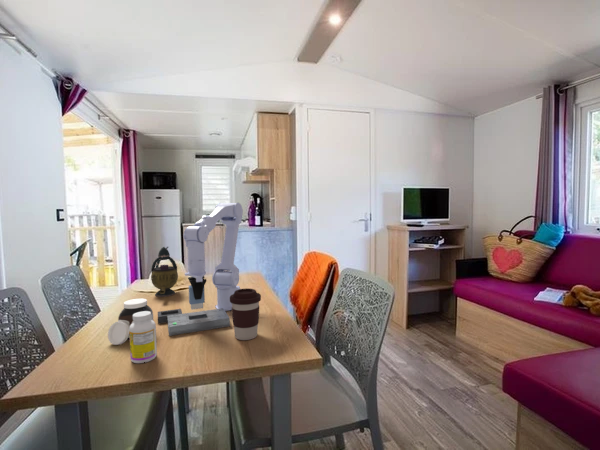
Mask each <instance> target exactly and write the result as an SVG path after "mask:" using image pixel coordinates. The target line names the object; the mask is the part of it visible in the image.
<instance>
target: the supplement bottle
mask: <svg viewBox="0 0 600 450" xmlns="http://www.w3.org/2000/svg"><path fill="white" fill-rule="evenodd" d="M153 320H154V319H153ZM153 320H151V312H150V311H142V312H137V313H135V314H133V321H134V323H132V324H131V325H130V327H129V335H130V340H129V349H130V350H129V355H130V356H129V357H130V360H131V362H132V363H134V364H145V363H148V362H151V361H153V360H154V359H156V357H157V354H158V352H157V350H158V349H157V330H156V329H157V327H156V321H153ZM144 362H145V363H144Z"/></svg>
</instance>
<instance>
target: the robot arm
mask: <svg viewBox="0 0 600 450" xmlns="http://www.w3.org/2000/svg"><path fill="white" fill-rule="evenodd" d="M243 215H244V209H243V207H242V204H241V203H240V202H218V203H217V204H216V205H215V209H214V210H213V211H212V212H211V213H210V214H209V215H202V216H201V219H199V220H198V221H196V222H195V223H194V225H189V226H187V227H186V228H185V229H184V231H183V234H182V235H183V236H182V237H183V240H184V241H185V247H186V248H187V272H184V275H185V276H186V277H187V279H188V281H189V283H190V285H192V288H193V293H194V298H195V300H197V299H201V298H202V293H203V288H204V289H205V285H206V283H207V279H206V278H205V275H207V271H206V257H205V256H206V253H205V252H206V249H205V242H207V240H208V237H209V235H210V233H211V232H212V231H213V230H214V229H215V228H216V225H217V222H218V221H221V224H224V225H225V226H226V227H225V228H226V229H225V233H224V234H225V235H224V241H223V248H222V254H221V261H220V263H219V264H217V265H216V266H215V268H214V272H213V274H212V277H211V280H212V285H214V286H215V288H216V297H217V298H216V299H217V300H216V301H217V303H216V305H215V306H214V307H215V309H221V308H223V309H224V310H225V312H227V311H232V303H231V302H230V296H231V295H233V294H234V292H235V291H236V290H239V289H241V288H240V287H241V286H240V285H239V283H240V269H239V268H238V266H236V265H235V257H236V250H237V243H238V242H237V240H238V236H239V228H240V224H242V220H243Z"/></svg>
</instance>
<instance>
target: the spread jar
mask: <svg viewBox="0 0 600 450" xmlns="http://www.w3.org/2000/svg"><path fill="white" fill-rule="evenodd" d="M142 311H150V312H151V320H153V321H154V312H153V309H152V308H151V307H150V306H149V305H148V299H146V298H142V297H141V298H133V299H128V300H126V301H123V309H122V310H121V311H120V313H119V315H118V318H117V321H115V322H113V323H112V324H111V325H110V327H109V328H108V331H107V339H108V341H109V343H110V344H112V345H114V346H117V345H118V346H119V345H122V344H124V343H126V341H130V335H129V327H130V325H131V324H132V323H134V321H133V314H135V313H137V312H142ZM154 322H155V321H154Z"/></svg>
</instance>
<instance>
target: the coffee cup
mask: <svg viewBox="0 0 600 450" xmlns="http://www.w3.org/2000/svg"><path fill="white" fill-rule="evenodd" d="M261 300H262V296H261V294H260V293H259V292H257V290H256V289H253V288H240V289H239V290H236V291H235V292H234V294H233V295H231V296H230V302H231V303H232V310H231V316H232V325H233V330H234V338H236V339H237V340H240V341H250V340H253V339H255V338H256V337H257V336H258V330H259V329H258V327H259V319H260V301H261Z"/></svg>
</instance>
